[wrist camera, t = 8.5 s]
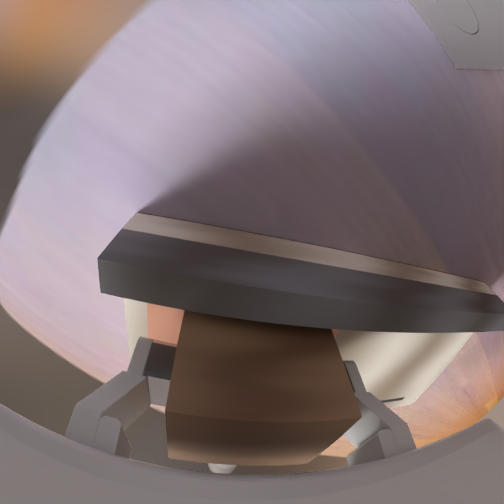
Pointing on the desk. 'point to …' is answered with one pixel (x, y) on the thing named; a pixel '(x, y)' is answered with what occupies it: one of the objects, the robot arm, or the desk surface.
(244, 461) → the brown block with peg
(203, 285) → the board
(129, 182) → the desk surface
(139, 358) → the robot arm
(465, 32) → the grey rounded case
